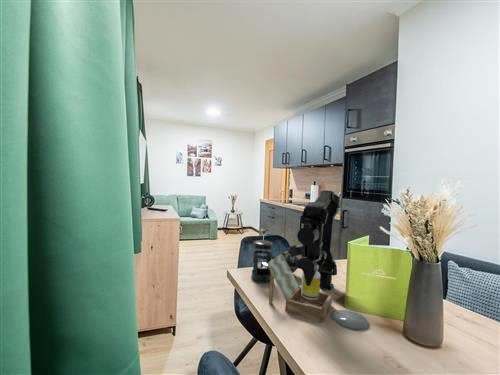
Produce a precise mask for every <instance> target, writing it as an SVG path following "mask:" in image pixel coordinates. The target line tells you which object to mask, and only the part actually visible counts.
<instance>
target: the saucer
mask: <svg viewBox="0 0 500 375" xmlns="http://www.w3.org/2000/svg"><path fill="white" fill-rule="evenodd" d="M332 318H333V320H334V322H335V323H336V324H338V325H339V326H340V327H343V328H346V329H348V330H353V331H363V330H366V329H367V328H368V327H369V321H368V319H367V318H366V316H364V315H362V314H361V313H359V312H356V311H352V310H350V309H349V310H347V309H338V310H335V311H334V312H333V313H332Z"/></svg>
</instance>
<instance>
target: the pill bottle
mask: <svg viewBox="0 0 500 375" xmlns="http://www.w3.org/2000/svg"><path fill="white" fill-rule="evenodd" d="M317 270H318V264H317ZM300 287H301V295H302V296H303V297H304V298H306V299H310V300H315V299H318V298H319V292H321V289H320V273H319V272H318V271H316V273H315V275H314V278H313V280H312V282H311V284H310V286H307V285H306V281H305V276H304V272H303V271H302V273H301V286H300Z"/></svg>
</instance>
